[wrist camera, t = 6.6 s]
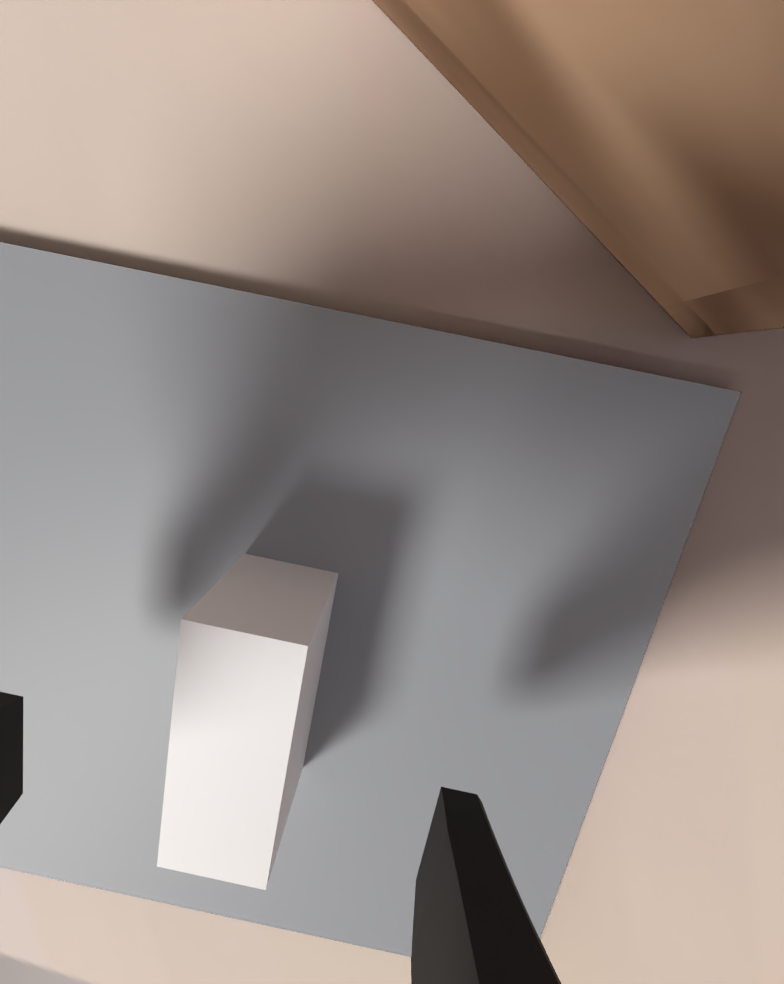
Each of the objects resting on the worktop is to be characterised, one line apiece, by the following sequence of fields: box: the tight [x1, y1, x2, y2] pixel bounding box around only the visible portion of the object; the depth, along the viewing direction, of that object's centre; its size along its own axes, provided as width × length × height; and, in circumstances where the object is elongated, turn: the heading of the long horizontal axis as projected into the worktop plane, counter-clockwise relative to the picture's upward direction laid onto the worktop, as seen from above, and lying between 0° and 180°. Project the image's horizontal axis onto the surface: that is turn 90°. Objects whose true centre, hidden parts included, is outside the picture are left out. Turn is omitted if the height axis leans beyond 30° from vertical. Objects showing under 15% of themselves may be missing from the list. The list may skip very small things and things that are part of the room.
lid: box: [0, 242, 741, 957], centre depth 10 cm, size 15×15×4 cm
